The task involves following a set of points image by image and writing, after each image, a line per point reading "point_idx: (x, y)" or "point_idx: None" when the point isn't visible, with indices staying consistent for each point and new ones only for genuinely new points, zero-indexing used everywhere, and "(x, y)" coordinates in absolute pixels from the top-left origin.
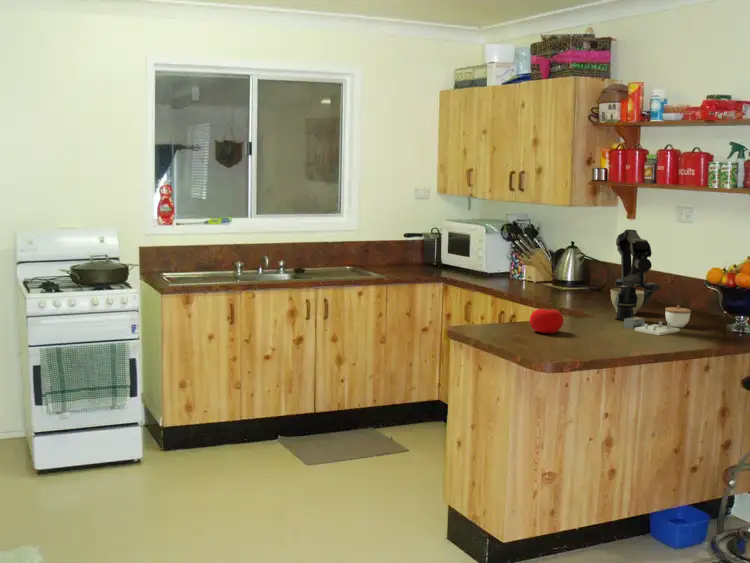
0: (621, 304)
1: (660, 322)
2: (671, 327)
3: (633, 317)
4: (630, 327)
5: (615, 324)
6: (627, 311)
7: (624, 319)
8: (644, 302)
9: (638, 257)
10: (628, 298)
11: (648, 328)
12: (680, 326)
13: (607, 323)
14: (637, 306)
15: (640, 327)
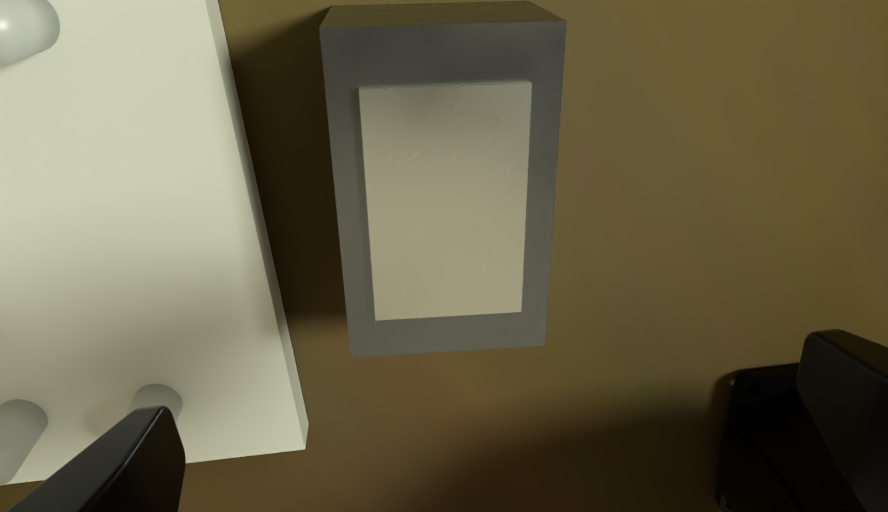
0: None
1: None
2: (35, 467)
3: (509, 255)
4: (384, 6)
5: (730, 63)
6: (822, 497)
7: (551, 19)
8: (82, 467)
9: None
10: (864, 501)
11: (40, 87)
12: None
13: (860, 7)
14: None
15: (167, 26)
